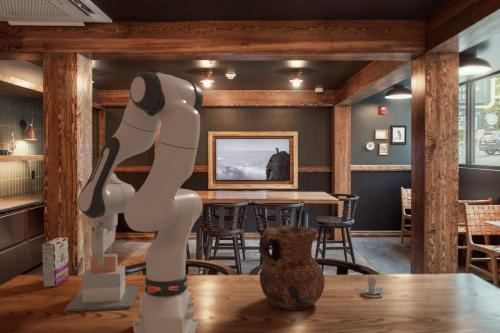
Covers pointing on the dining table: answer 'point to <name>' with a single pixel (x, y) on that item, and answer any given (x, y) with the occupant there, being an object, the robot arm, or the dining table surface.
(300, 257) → the jug
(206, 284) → the dining table surface
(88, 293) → the white stack on tray
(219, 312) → the dining table surface
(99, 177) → the robot arm
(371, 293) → the pacifier
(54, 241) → the candy bar box
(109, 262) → the terracotta brick
